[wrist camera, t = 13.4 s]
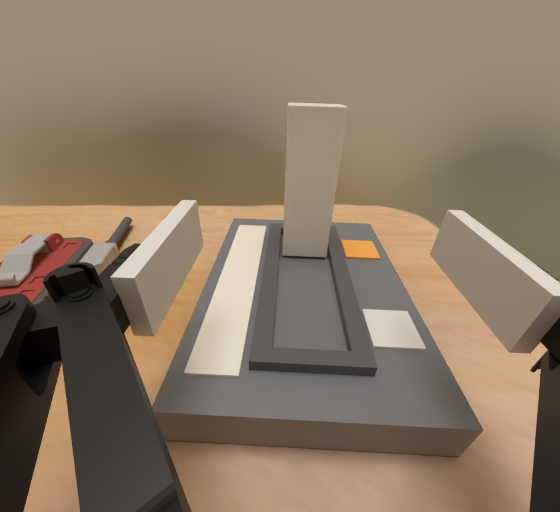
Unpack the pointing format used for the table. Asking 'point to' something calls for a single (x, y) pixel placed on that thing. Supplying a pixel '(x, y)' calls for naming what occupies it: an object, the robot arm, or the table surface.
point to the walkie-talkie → (52, 260)
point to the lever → (311, 176)
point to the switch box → (311, 353)
